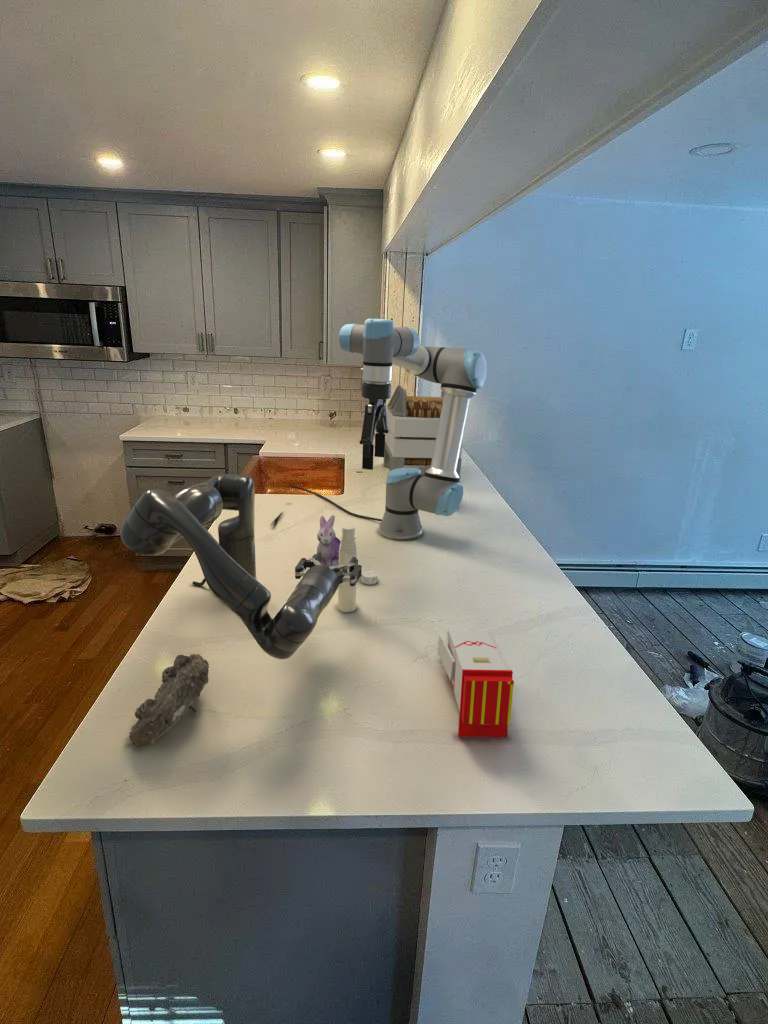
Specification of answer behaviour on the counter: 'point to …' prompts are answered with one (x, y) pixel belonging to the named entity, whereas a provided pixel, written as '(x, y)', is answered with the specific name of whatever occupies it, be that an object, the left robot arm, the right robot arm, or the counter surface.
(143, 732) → the fossil
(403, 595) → the counter surface
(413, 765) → the counter surface
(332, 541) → the figurine
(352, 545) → the bottle
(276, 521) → the feather
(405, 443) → the grey slatted box
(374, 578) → the cap
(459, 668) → the toy
